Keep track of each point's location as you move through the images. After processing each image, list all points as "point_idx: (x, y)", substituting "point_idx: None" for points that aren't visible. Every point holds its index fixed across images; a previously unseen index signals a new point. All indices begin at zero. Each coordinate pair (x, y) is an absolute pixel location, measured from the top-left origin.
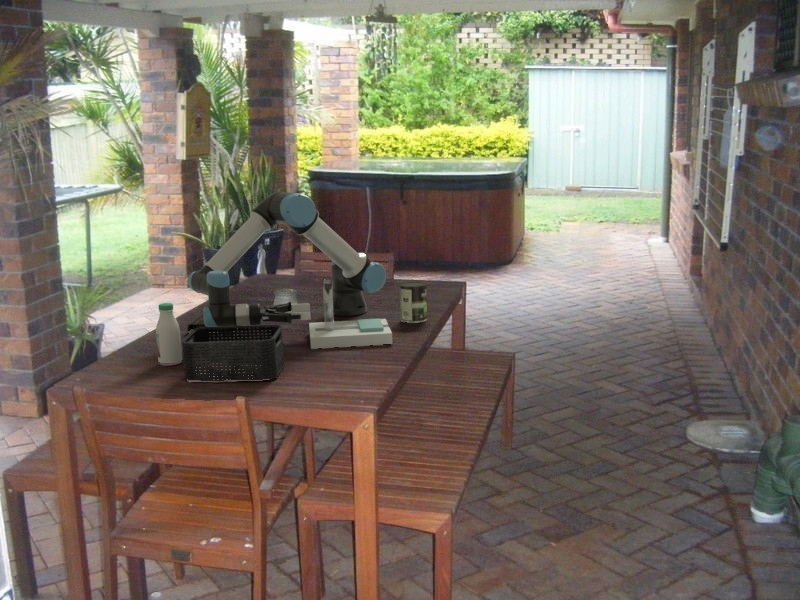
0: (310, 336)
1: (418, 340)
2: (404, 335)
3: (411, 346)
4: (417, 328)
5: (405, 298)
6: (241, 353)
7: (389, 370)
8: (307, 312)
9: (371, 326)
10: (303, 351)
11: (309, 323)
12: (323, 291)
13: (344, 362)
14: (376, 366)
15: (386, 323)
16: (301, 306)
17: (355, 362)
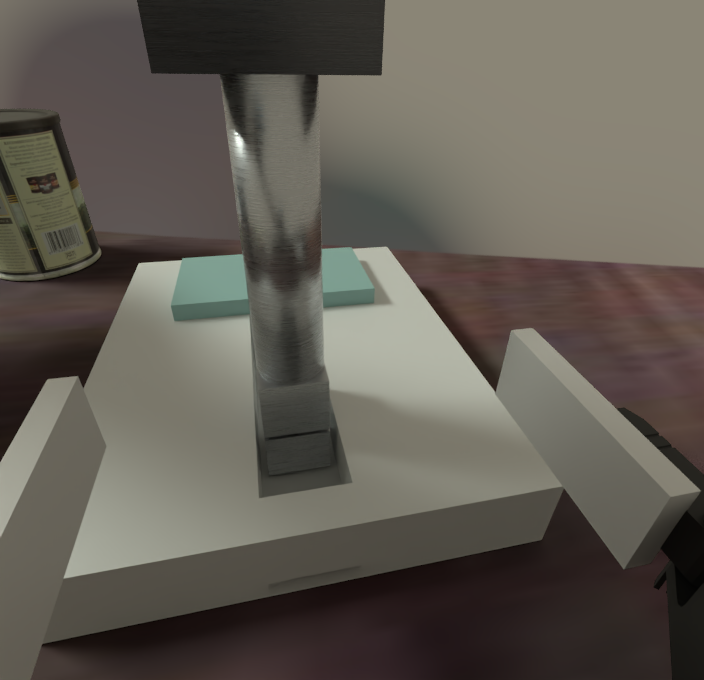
0: (528, 490)
1: None
2: None
3: (404, 258)
4: (178, 254)
5: (42, 176)
6: None
7: (679, 279)
8: (549, 346)
9: (333, 267)
10: (621, 582)
11: None
12: (289, 122)
13: (689, 368)
14: (664, 300)
15: None
16: (52, 485)
17: (661, 341)
